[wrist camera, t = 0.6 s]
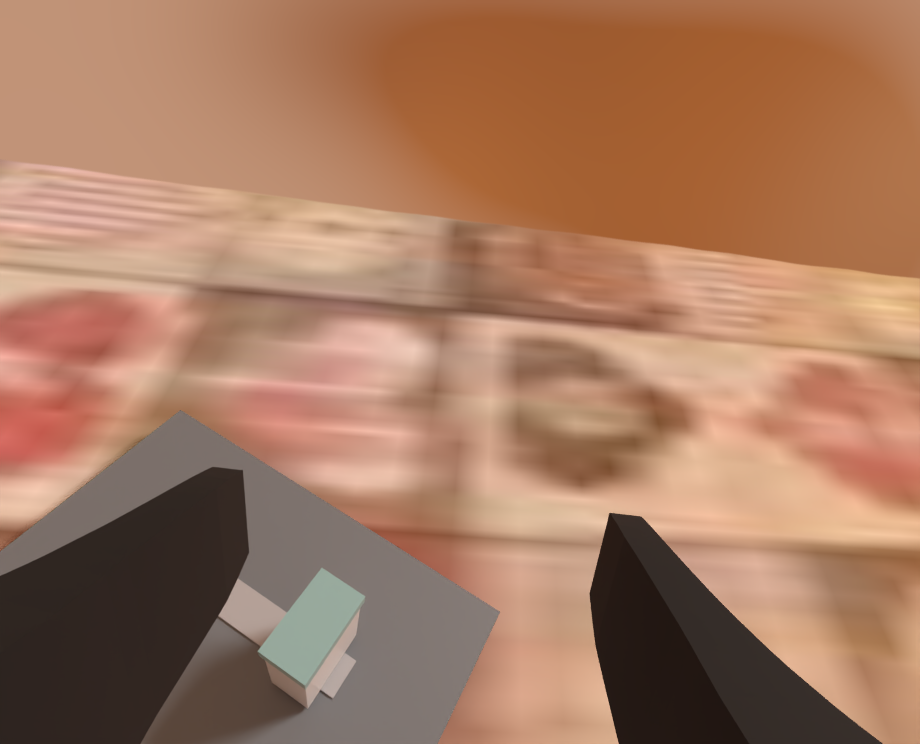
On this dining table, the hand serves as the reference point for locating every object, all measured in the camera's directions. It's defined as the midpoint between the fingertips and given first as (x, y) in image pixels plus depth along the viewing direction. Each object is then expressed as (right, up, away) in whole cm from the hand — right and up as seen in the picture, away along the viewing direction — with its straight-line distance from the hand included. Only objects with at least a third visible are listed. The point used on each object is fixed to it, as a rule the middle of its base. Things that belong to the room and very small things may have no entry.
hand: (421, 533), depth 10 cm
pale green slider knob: (-5, -9, +12) cm, 16 cm away
